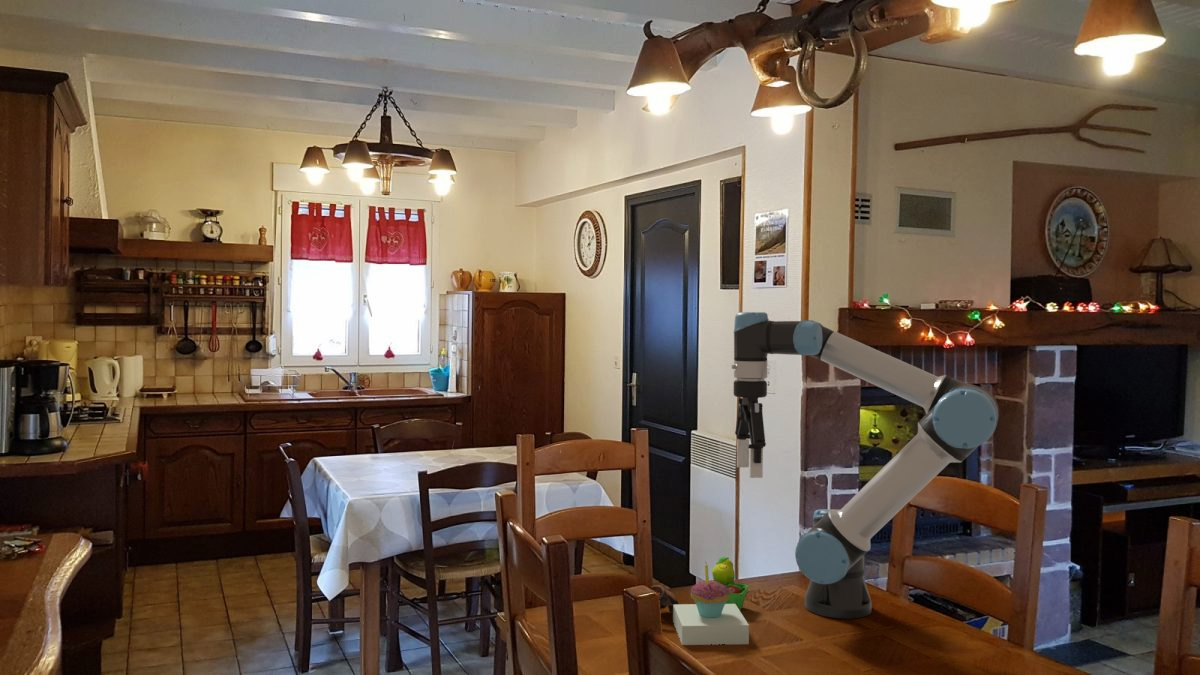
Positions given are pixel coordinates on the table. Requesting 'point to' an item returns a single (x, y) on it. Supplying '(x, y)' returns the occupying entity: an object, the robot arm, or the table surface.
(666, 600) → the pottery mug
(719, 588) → the cupcake
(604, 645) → the table surface
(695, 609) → the sage stand
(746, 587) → the fruit basket
